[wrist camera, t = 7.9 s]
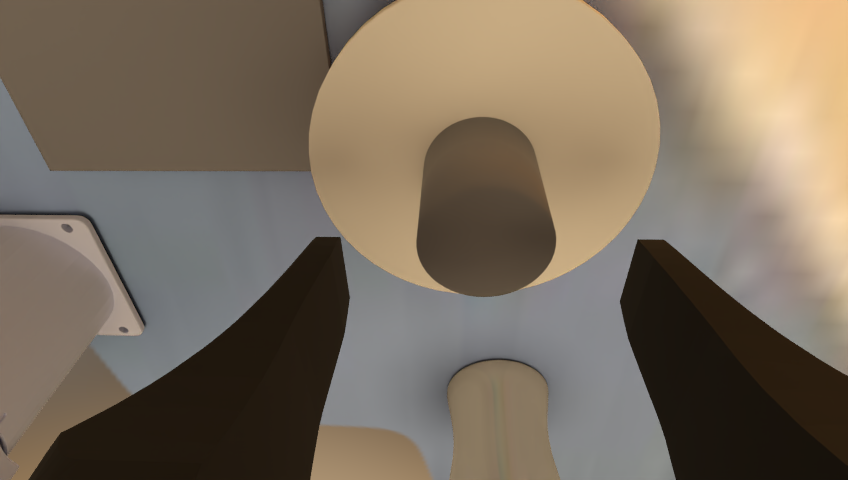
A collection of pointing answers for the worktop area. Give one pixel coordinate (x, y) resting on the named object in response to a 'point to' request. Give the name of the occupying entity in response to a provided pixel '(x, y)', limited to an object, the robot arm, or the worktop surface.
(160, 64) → the mat
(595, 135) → the lid
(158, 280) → the worktop surface
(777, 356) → the robot arm
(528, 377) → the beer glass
